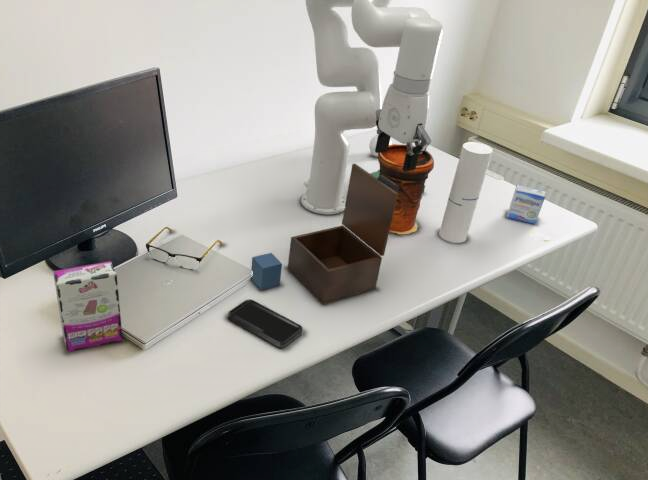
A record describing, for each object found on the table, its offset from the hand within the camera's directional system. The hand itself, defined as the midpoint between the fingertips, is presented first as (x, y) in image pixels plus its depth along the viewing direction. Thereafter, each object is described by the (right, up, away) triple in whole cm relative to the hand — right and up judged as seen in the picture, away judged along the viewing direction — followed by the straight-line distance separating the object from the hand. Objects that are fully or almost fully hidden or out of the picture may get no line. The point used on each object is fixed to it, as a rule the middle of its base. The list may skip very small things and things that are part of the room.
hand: (394, 160), depth 143 cm
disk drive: (+11, +3, +53) cm, 54 cm away
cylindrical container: (+22, -14, +31) cm, 41 cm away
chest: (-13, -26, +11) cm, 31 cm away
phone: (-29, -36, -5) cm, 46 cm away
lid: (-6, -10, +4) cm, 12 cm away
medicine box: (+45, -7, +42) cm, 62 cm away
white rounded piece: (+11, +16, +70) cm, 72 cm away
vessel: (+7, -10, +35) cm, 37 cm away
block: (-28, -26, +8) cm, 40 cm away
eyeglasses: (-48, -19, +16) cm, 54 cm away
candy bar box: (-63, -39, -12) cm, 75 cm away
